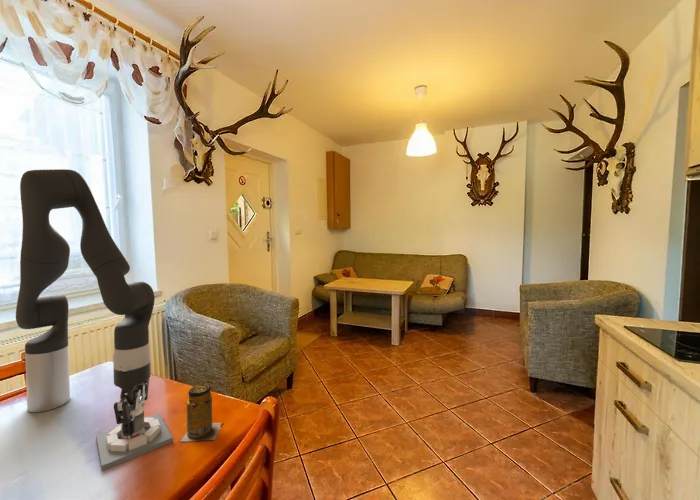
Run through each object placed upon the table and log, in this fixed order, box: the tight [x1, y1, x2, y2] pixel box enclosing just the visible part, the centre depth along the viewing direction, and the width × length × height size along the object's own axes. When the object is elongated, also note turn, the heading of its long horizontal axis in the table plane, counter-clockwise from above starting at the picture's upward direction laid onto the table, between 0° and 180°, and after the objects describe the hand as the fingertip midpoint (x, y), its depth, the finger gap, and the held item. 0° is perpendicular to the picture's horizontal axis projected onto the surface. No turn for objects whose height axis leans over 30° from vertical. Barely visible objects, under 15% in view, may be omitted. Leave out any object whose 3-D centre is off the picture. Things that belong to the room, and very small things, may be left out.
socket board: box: [95, 413, 174, 472], centre depth 78 cm, size 14×14×3 cm
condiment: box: [180, 383, 222, 442], centre depth 81 cm, size 7×8×12 cm
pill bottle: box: [120, 399, 145, 440], centre depth 77 cm, size 5×5×8 cm
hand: (133, 427), depth 78 cm, fingers closed on pill bottle, 4 cm apart
